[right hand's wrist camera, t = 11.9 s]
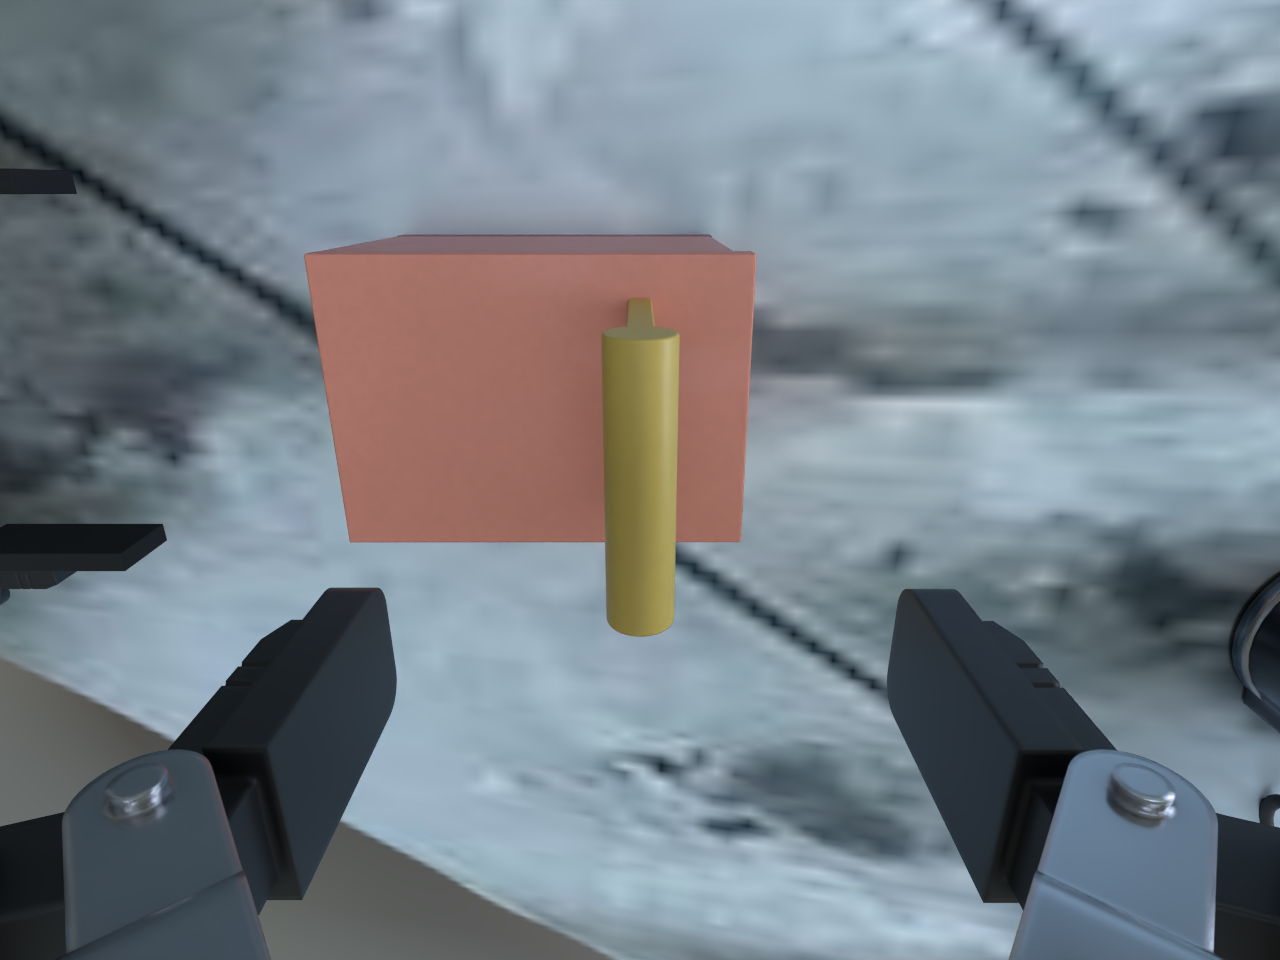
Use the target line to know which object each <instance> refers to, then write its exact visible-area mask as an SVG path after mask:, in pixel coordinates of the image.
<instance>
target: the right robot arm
mask: <svg viewBox="0 0 1280 960" xmlns="http://www.w3.org/2000/svg"><path fill="white" fill-rule="evenodd" d="M1232 657H1233V664H1234V668H1235V671H1236V673H1237V675H1238V677H1239V679H1240V680H1241V682H1242V683H1243V684H1244V685H1245V687H1247V690H1246V695H1245V698H1244V703H1245V705H1247V706H1248V707H1249V708H1250V709H1251V710H1253V711H1254V712H1255V713H1256V714H1257V715H1258V716H1260V717H1261V718H1262V719H1263V720H1264V721H1266V722H1267V723H1268V724H1269V725H1270V726H1271V727H1273V728H1274V729H1275V730H1276V731H1277V732H1279V733H1280V576H1279V577H1278V578H1277V579H1275V580H1274V581H1273V582H1272V583H1270V584H1269V585H1268V586H1267V587H1266V588H1265V589H1264V590H1263V591H1262V592H1261V593H1260V594H1259V595H1258V596H1257V597H1256V598H1255V599H1254V601H1253V602H1252V603H1251V604H1250V606H1249V607H1248V609H1247V610H1246V612H1245V613H1244V615H1243V617H1242V618H1241V620H1240V623H1239V625H1238V627H1237V630H1236V633H1235V636H1234V640H1233V647H1232ZM396 684H397V677H396V667H395V660H394V653H393V646H392V639H391V632H390V626H389V619H388V612H387V605H386V600H385V596H384V594H383V592H382V590H381V589H380V588H329V589H327V590H326V591H325V592H324V593H323V594H322V596H321V597H320V598H319V599H318V601H317V602H316V603H315V605H314V606H313V607H312V608H311V610H310V611H309V612H308V613H307V615H306V616H305V617H304V619H303V620H290V621H289V622H287V623H286V624H284V625H283V626H281V627H280V628H278V629H276V630H275V631H273V632H272V633H270V634H269V635H267V636H266V637H264V638H262V639H261V640H260V641H259V642H258V644H257V645H256V646H255V647H254V648H253V650H252V651H251V652H250V653H249V654H248V655H247V657H246V658H245V659H244V660H243V661H242V666H241V667H237V668H236V670H235V671H234V672H233V673H232V674H231V676H230V677H229V678H228V679H227V680H226V685H225V686H221V687H220V689H219V690H218V691H217V692H216V693H215V694H214V696H213V697H212V698H211V699H210V700H209V702H208V703H207V704H206V705H205V706H204V707H203V709H202V710H201V711H200V712H199V713H198V715H197V716H196V717H195V718H194V719H193V720H192V722H191V723H190V724H189V725H188V726H187V728H186V729H185V730H184V731H183V732H182V733H181V735H180V736H179V737H178V738H177V739H176V741H175V742H174V743H173V744H172V745H171V747H170V748H169V749H168V750H164V751H158V752H153V753H149V754H145V755H142V756H139V757H136V758H133V759H131V760H128V761H126V762H123V763H121V764H119V765H117V766H115V767H113V768H111V769H110V770H108V771H106V772H105V773H103V774H101V775H100V776H98V777H97V778H96V779H94V780H93V781H91V782H90V783H89V784H88V785H86V786H85V787H84V788H83V789H82V790H81V791H80V792H79V793H78V794H77V795H76V796H75V797H74V798H73V800H72V801H71V802H70V804H69V805H68V807H67V809H66V811H65V812H63V813H58V814H54V815H50V816H45V817H41V818H36V819H32V820H27V821H23V822H19V823H14V824H10V825H5V826H1V827H0V960H271V957H270V954H269V950H268V947H267V944H266V941H265V937H264V934H263V931H262V927H261V924H260V921H259V917H258V916H259V914H260V912H261V910H262V908H263V906H264V904H265V902H266V900H302V899H303V897H304V895H305V893H306V890H307V888H308V886H309V884H310V882H311V880H312V878H313V876H314V874H315V872H316V870H317V867H318V865H319V863H320V861H321V859H322V857H323V855H324V853H325V851H326V849H327V846H328V844H329V842H330V840H331V838H332V836H333V834H334V832H335V830H336V827H337V826H338V823H339V821H340V819H341V817H342V815H343V813H344V811H345V809H346V807H347V805H348V802H349V800H350V798H351V796H352V794H353V792H354V790H355V788H356V786H357V784H358V782H359V779H360V777H361V775H362V773H363V771H364V769H365V767H366V765H367V763H368V761H369V758H370V756H371V754H372V752H373V750H374V748H375V746H376V744H377V742H378V740H379V738H380V735H381V733H382V731H383V729H384V727H385V725H386V723H387V721H388V719H389V717H390V714H391V712H392V709H393V705H394V701H395V695H396ZM887 690H888V699H889V704H890V708H891V711H892V714H893V716H894V718H895V721H896V723H897V725H898V727H899V729H900V731H901V733H902V735H903V737H904V739H905V741H906V743H907V745H908V747H909V750H910V752H911V754H912V756H913V758H914V760H915V762H916V764H917V766H918V768H919V770H920V772H921V774H922V776H923V779H924V781H925V783H926V785H927V787H928V789H929V791H930V793H931V795H932V797H933V799H934V801H935V803H936V805H937V808H938V810H939V812H940V814H941V816H942V818H943V820H944V822H945V824H946V826H947V828H948V830H949V832H950V834H951V836H952V839H953V841H954V843H955V845H956V847H957V849H958V851H959V853H960V855H961V857H962V859H963V861H964V863H965V865H966V868H967V870H968V872H969V874H970V876H971V878H972V880H973V882H974V884H975V886H976V888H977V890H978V892H979V894H980V897H981V899H982V901H983V903H1019V904H1020V905H1021V907H1022V909H1023V914H1022V917H1021V921H1020V924H1019V927H1018V931H1017V934H1016V937H1015V940H1014V944H1013V947H1012V950H1011V954H1010V957H1009V960H1280V828H1278V827H1274V821H1273V817H1274V812H1275V811H1276V810H1277V809H1279V808H1280V795H1279V794H1273V795H1269V796H1267V797H1266V798H1265V799H1263V801H1262V802H1261V804H1260V808H1259V818H1260V823H1256V822H1252V821H1247V820H1243V819H1239V818H1234V817H1230V816H1225V815H1222V814H1218V813H1215V811H1214V808H1213V807H1212V805H1211V804H1210V802H1209V801H1208V800H1207V798H1206V797H1205V796H1204V795H1203V794H1202V793H1201V792H1200V791H1199V790H1198V789H1197V788H1196V787H1195V786H1194V785H1192V784H1191V783H1190V782H1189V781H1187V780H1186V779H1185V778H1183V777H1182V776H1180V775H1179V774H1177V773H1175V772H1174V771H1172V770H1170V769H1169V768H1167V767H1165V766H1163V765H1161V764H1159V763H1157V762H1154V761H1152V760H1149V759H1147V758H1144V757H1141V756H1138V755H1135V754H1131V753H1127V752H1122V751H1117V750H1116V749H1115V747H1114V746H1113V745H1112V744H1111V743H1110V741H1109V740H1108V739H1107V738H1106V737H1105V736H1104V734H1103V733H1102V732H1101V731H1100V730H1099V729H1098V727H1097V726H1096V725H1095V724H1094V723H1093V722H1092V720H1091V719H1090V718H1089V717H1088V716H1087V715H1086V713H1085V712H1084V711H1083V710H1082V709H1081V708H1080V706H1079V705H1078V704H1077V703H1076V702H1075V700H1074V699H1073V698H1072V697H1071V696H1070V695H1069V693H1068V692H1067V691H1066V690H1065V689H1064V688H1060V686H1059V682H1058V681H1057V679H1056V678H1055V677H1054V676H1053V675H1052V674H1051V672H1050V671H1049V670H1048V669H1047V668H1043V663H1042V662H1041V661H1040V660H1039V658H1038V657H1037V656H1036V655H1035V654H1034V652H1033V651H1032V650H1031V649H1030V648H1029V647H1028V645H1027V644H1026V643H1025V642H1024V641H1023V640H1022V639H1020V638H1018V637H1017V636H1015V635H1014V634H1012V633H1011V632H1009V631H1007V630H1006V629H1004V628H1003V627H1001V626H1000V625H998V624H997V623H995V622H993V621H982V620H981V619H980V618H979V617H978V615H977V614H976V613H975V612H974V610H973V609H972V608H971V607H970V605H969V604H968V603H967V602H966V600H965V599H964V598H963V597H962V595H961V594H960V593H959V592H958V591H957V590H955V589H905V590H903V591H902V593H901V595H900V597H899V600H898V605H897V612H896V619H895V626H894V632H893V639H892V646H891V653H890V660H889V666H888V674H887Z"/></svg>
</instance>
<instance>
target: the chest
mask: <svg viewBox="0 0 1280 960" xmlns="http://www.w3.org/2000/svg"><path fill="white" fill-rule="evenodd" d="M324 251H732V250H731V249H729V248H727V247H726V246H724V245H723V244H721V243H719V242H718V241H716V240H715V239H713V238H712V236H710V235H401V236H398V237H393V238H388V239H383V240H377V241H372V242H367V243H361V244H356V245H351V246H345V247H340V248H335V249H329V250H324Z"/></svg>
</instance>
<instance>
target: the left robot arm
mask: <svg viewBox="0 0 1280 960" xmlns="http://www.w3.org/2000/svg"><path fill="white" fill-rule="evenodd" d="M0 194H77V192H76V188H75V185H74V181H73V177H72V173H71V171H62V170H35V169H0ZM166 540H167V539H166V535H165V531H164V527H163V524H6V525H4V526H2V527H0V605H1V604H3V603H4V602H6V601H7V600H8V599H9V597H10V591H9V589H21V588H23V589H31V588H33V589H47V588H50V587H52V586H55V585H57V584H59V583H60V582H62V581H63V580H65V579H66V578H67V577H69V576H70V575H72V574H73V573H75V572H76V571H126V570H127V569H128V568H130V567H131V566H133V565H134V564H135V563H137V562H138V561H139V560H141V559H142V558H143V557H145V556H146V555H147V554H149V553H150V552H152V551H153V550H154V549H156V548H157V547H158V546H160V545H161V544H162V543H164V542H165V541H166Z"/></svg>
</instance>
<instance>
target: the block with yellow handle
mask: <svg viewBox="0 0 1280 960" xmlns="http://www.w3.org/2000/svg"><path fill="white" fill-rule="evenodd" d="M756 257H757V255H756V254H755V253H753V252H751V251H318V252H312V253H307V254H304V258H305V264H306V270H307V277H308V283H309V289H310V295H311V302H312V308H313V314H314V320H315V327H316V333H317V339H318V345H319V352H320V358H321V364H322V370H323V377H324V383H325V389H326V395H327V402H328V408H329V414H330V420H331V427H332V433H333V439H334V445H335V452H336V458H337V464H338V470H339V477H340V483H341V489H342V495H343V502H344V508H345V514H346V520H347V527H348V533H349V539H350V542H605V555H606V607H607V621H608V623H609V625H610V626H611V627H612V628H613V629H614V630H616V631H618V632H620V633H622V634H625V635H630V636H640V637H641V636H651V635H655V634H659V633H661V632H663V631H665V630H667V629H668V628H669V627H670V626H671V624H672V623H673V620H674V596H675V545H676V542H740V541H741V527H742V509H743V491H744V473H745V455H746V437H747V419H748V401H749V383H750V365H751V347H752V329H753V311H754V293H755V275H756Z"/></svg>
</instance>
